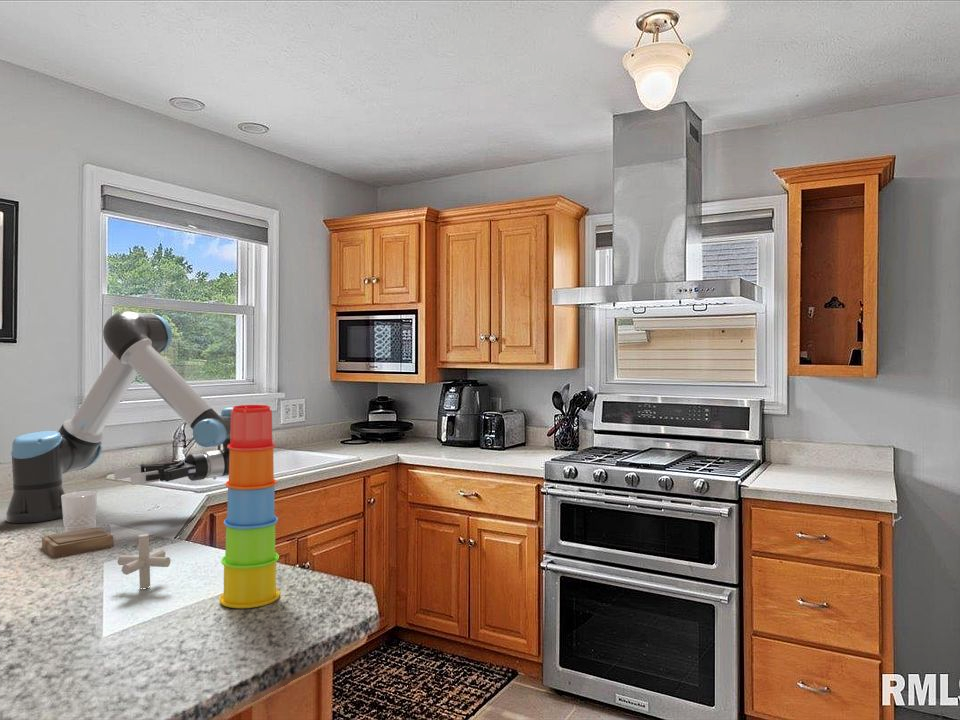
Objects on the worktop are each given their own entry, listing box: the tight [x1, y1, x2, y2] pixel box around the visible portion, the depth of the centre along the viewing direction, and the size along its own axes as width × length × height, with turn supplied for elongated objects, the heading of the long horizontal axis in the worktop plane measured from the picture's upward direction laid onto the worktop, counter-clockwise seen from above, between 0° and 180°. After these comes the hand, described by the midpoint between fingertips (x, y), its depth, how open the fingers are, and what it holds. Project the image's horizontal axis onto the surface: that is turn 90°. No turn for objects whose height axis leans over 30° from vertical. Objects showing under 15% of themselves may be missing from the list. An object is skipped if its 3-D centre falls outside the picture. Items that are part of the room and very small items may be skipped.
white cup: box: [61, 490, 98, 533], centre depth 176 cm, size 8×8×10 cm
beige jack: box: [117, 533, 172, 590], centre depth 133 cm, size 10×10×10 cm
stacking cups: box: [218, 404, 281, 609], centre depth 125 cm, size 10×10×35 cm
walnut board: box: [41, 526, 115, 559], centre depth 163 cm, size 12×12×3 cm
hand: (122, 477), depth 183 cm, fingers open, 13 cm apart
